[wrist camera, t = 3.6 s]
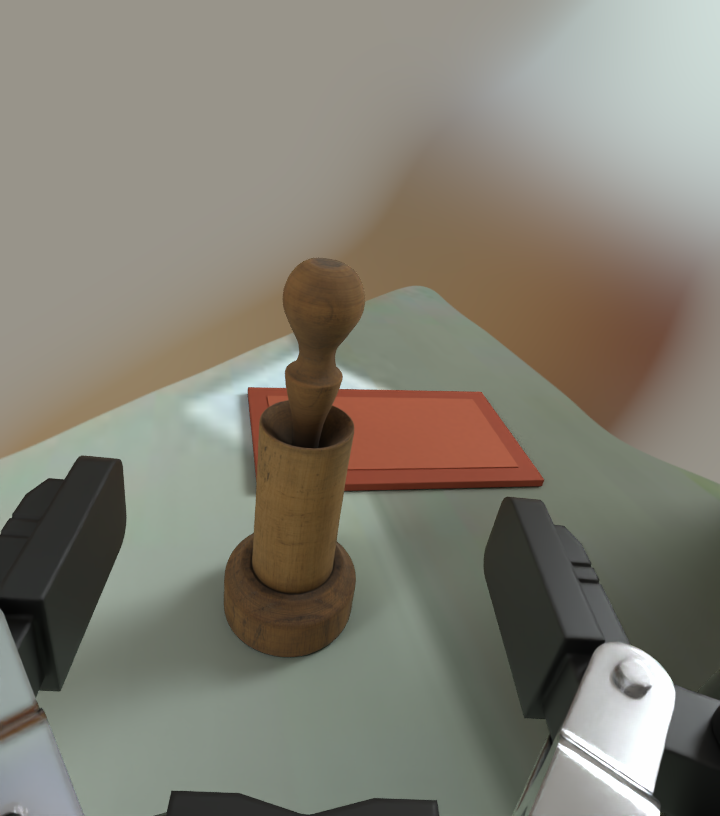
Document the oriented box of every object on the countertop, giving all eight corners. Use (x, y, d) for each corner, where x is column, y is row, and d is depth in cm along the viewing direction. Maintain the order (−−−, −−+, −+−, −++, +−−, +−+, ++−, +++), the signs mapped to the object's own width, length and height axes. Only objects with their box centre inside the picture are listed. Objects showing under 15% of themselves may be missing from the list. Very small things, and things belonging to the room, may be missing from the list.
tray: (479, 397, 52) (481, 390, 52) (542, 486, 42) (545, 478, 42) (247, 393, 47) (247, 385, 47) (257, 493, 37) (258, 484, 37)
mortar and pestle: (211, 566, 32) (217, 231, 22) (324, 544, 34) (372, 235, 25) (240, 675, 27) (265, 301, 17) (370, 638, 29) (452, 297, 20)
